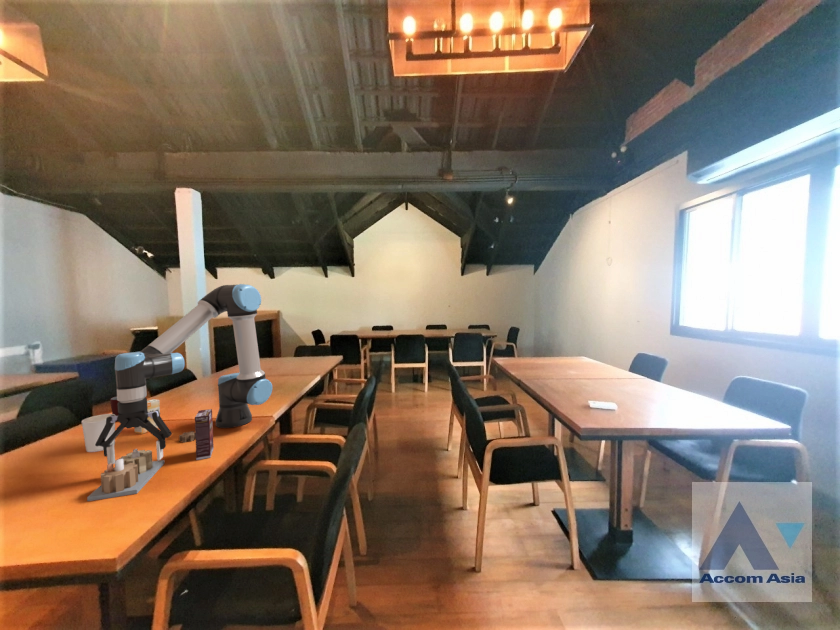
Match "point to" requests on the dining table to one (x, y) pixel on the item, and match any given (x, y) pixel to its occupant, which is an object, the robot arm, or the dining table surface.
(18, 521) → the dining table surface
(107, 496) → the gear board
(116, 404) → the mug
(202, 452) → the supplement box
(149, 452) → the maple gear
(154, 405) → the supplement box
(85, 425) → the candle holder
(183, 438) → the gear
